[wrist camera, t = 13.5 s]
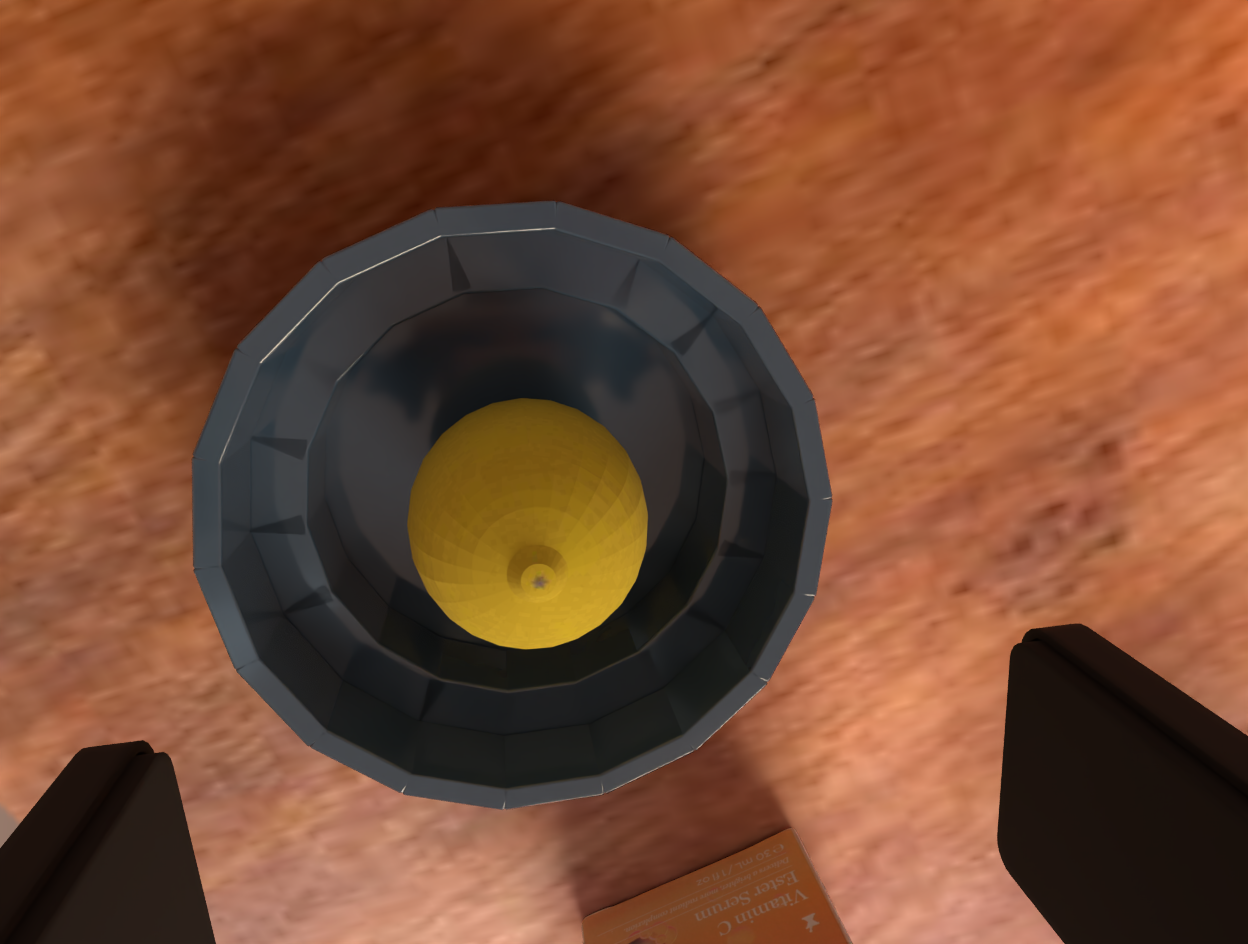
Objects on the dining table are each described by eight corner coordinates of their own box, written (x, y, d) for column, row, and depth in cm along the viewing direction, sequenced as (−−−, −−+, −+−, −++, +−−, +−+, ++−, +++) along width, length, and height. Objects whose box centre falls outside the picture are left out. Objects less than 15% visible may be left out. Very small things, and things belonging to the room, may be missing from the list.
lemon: (436, 579, 25) (414, 731, 17) (406, 387, 23) (368, 459, 15) (628, 553, 25) (689, 688, 18) (611, 365, 24) (670, 424, 16)
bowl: (207, 229, 22) (119, 226, 17) (756, 195, 24) (833, 183, 19) (299, 725, 26) (251, 849, 20) (767, 662, 28) (833, 760, 22)
